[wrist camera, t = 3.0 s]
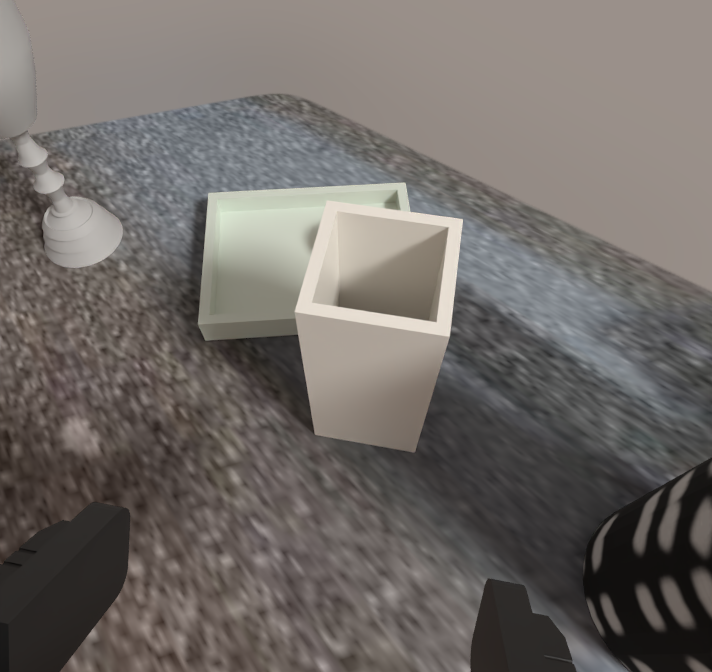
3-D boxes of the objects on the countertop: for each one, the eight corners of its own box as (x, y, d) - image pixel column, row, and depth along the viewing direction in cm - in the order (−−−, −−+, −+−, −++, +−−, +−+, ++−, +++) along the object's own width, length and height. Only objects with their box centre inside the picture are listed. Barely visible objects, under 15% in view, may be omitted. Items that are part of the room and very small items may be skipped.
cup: (314, 434, 29) (294, 312, 19) (335, 348, 32) (327, 200, 22) (414, 452, 29) (449, 336, 19) (426, 363, 32) (463, 219, 21)
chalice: (43, 199, 38) (-170, -119, 22) (142, 194, 38) (0, -123, 23) (17, 285, 34) (-259, -26, 19) (128, 279, 34) (-55, -32, 19)
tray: (205, 340, 32) (198, 324, 31) (214, 212, 37) (208, 193, 36) (423, 326, 33) (427, 309, 31) (403, 202, 38) (405, 182, 36)
